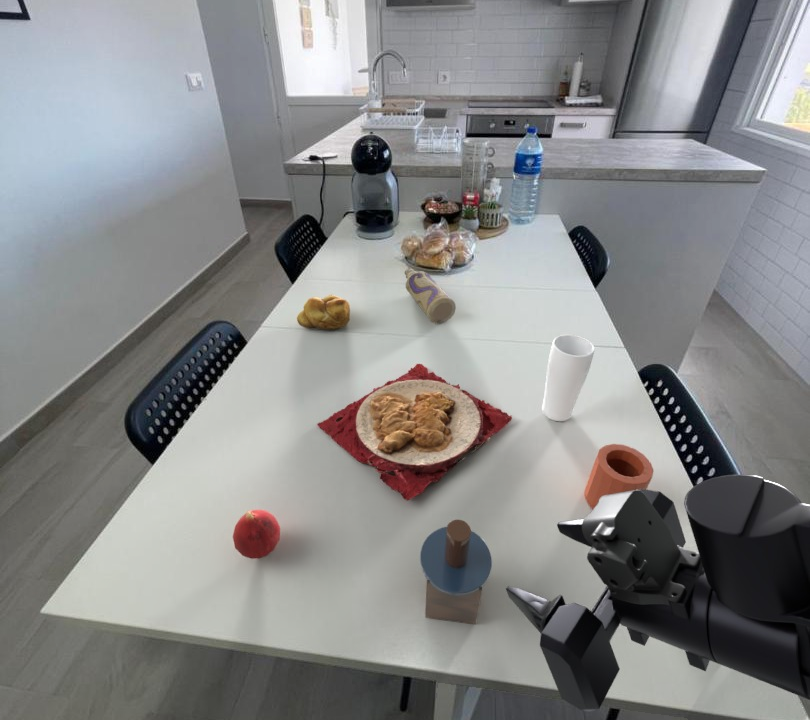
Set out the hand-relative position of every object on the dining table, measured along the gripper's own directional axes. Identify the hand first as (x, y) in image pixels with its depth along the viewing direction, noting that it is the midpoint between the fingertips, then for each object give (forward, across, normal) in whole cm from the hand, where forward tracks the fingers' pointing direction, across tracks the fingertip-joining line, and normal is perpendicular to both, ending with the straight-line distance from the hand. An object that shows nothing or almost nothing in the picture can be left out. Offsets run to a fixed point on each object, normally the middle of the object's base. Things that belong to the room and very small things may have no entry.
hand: (534, 557), depth 43 cm
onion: (+33, +15, -3) cm, 37 cm away
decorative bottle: (+60, -53, -19) cm, 82 cm away
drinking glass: (+21, -37, +5) cm, 43 cm away
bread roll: (+69, -27, -24) cm, 78 cm away
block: (+14, +2, +9) cm, 17 cm away
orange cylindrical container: (+8, -25, +13) cm, 30 cm away
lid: (+10, +2, +2) cm, 11 cm away
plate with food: (+35, -16, -4) cm, 39 cm away
